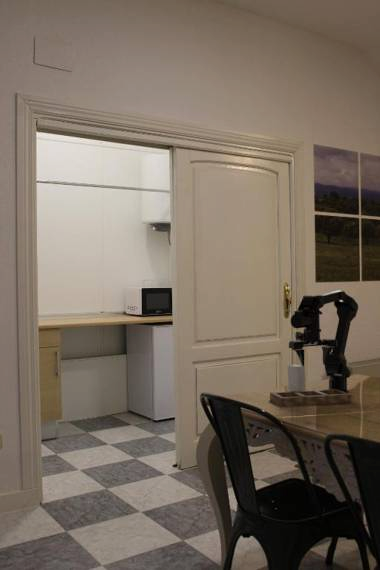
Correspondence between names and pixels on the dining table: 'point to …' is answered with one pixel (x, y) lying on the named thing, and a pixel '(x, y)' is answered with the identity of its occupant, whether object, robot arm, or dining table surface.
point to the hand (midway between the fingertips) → (313, 365)
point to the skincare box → (296, 378)
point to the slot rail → (310, 397)
